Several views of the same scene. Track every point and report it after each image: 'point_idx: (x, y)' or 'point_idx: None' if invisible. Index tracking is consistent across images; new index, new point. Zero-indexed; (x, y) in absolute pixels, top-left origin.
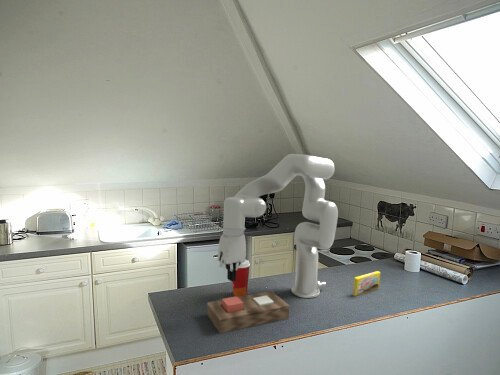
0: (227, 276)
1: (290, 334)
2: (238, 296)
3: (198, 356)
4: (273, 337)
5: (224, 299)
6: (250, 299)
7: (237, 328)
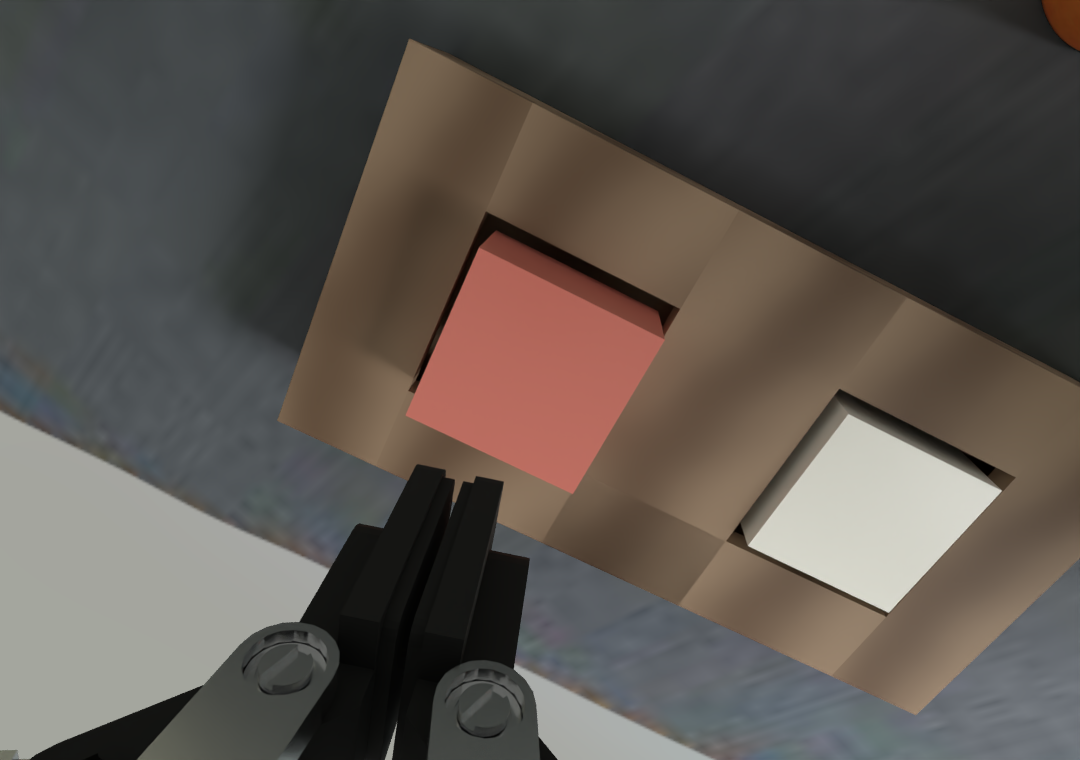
0: (348, 540)
1: (662, 713)
2: (1046, 4)
3: (65, 442)
4: (559, 657)
5: (488, 283)
6: (821, 389)
7: None
